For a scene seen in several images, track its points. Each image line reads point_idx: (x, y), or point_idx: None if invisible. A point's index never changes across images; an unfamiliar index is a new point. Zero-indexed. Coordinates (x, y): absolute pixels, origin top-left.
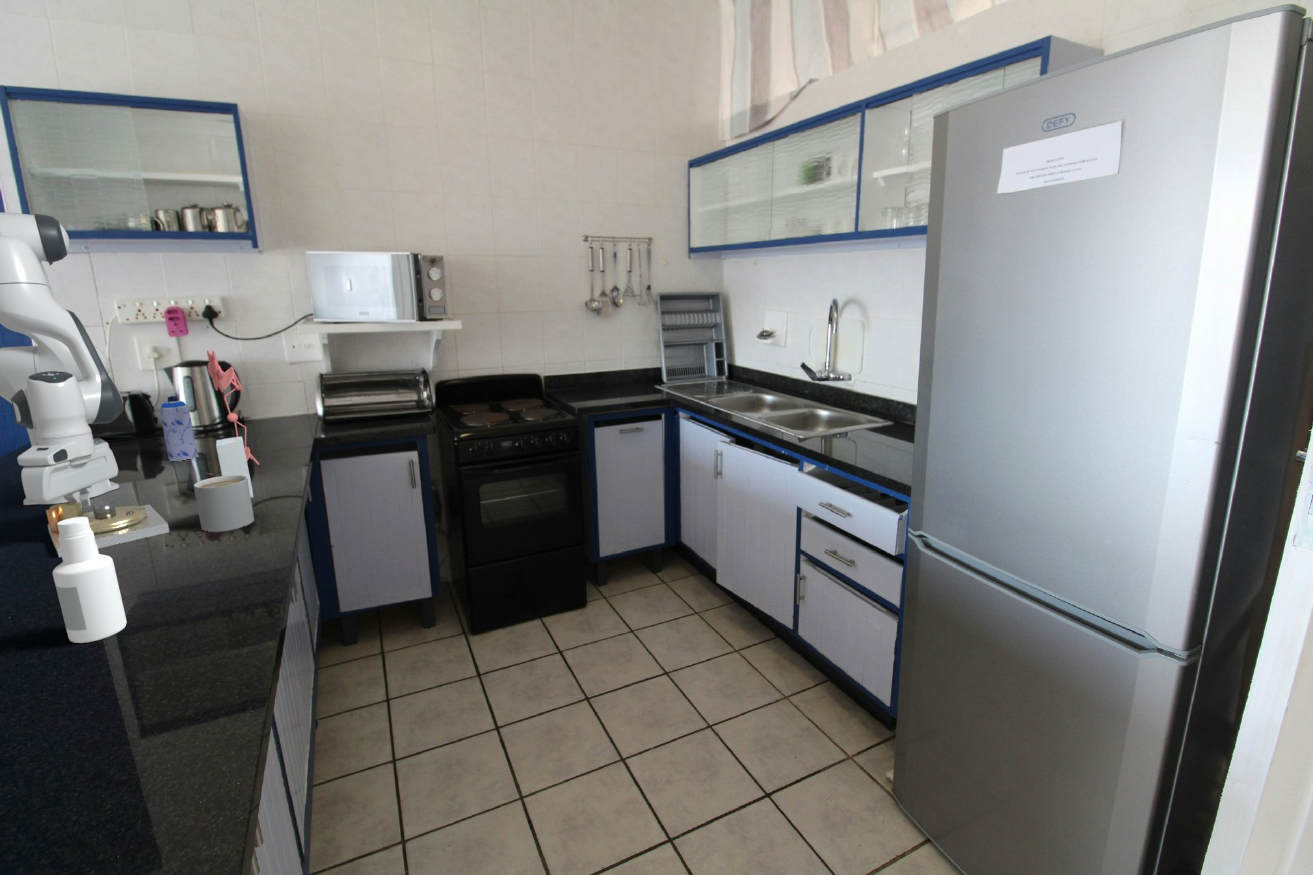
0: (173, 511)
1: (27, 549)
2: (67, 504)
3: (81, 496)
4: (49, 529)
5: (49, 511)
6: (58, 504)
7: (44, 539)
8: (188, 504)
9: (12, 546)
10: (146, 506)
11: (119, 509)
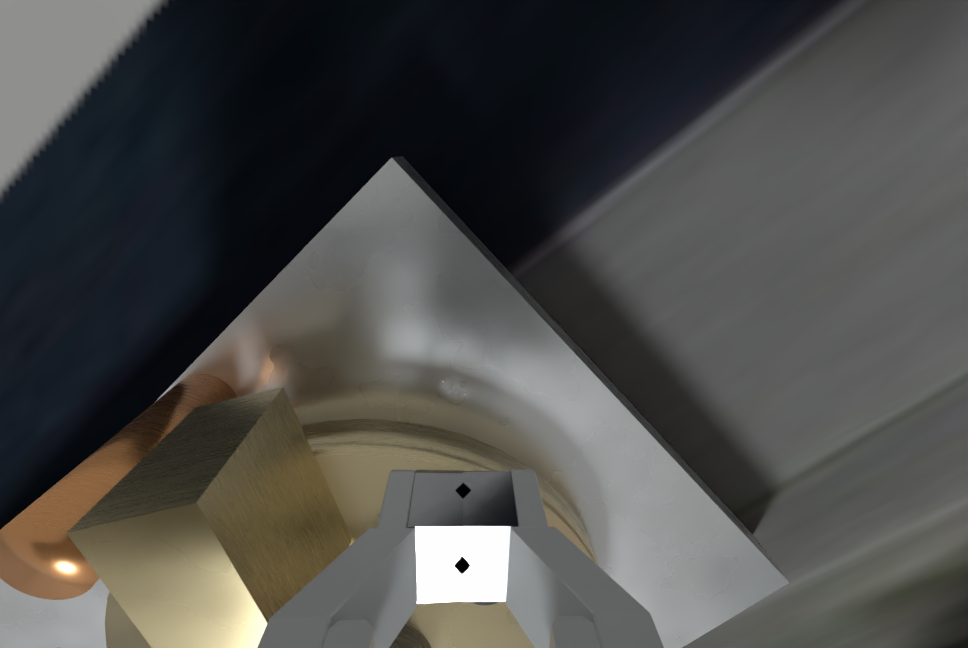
0: (730, 628)
1: (69, 275)
2: (203, 643)
3: (534, 579)
4: (266, 289)
5: (4, 571)
6: (197, 545)
7: (272, 228)
8: (850, 628)
9: (102, 81)
10: (742, 591)
11: (530, 645)
